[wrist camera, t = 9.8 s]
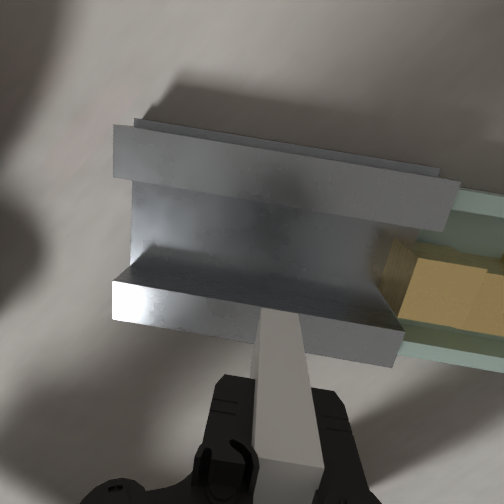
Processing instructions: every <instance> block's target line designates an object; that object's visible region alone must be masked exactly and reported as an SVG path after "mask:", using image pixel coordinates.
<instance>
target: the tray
mask: <svg viewBox="0 0 504 504" xmlns="http://www.w3.org/2000/svg"><path fill="white" fill-rule="evenodd" d="M416 241H418V242H424V243H430V244H436V245H442V246H448V247H452V248H454V249H456V250H457V251H459V252H463V253H469V254H475V255H481V256H487V257H493V258H499V259H501V258H502V255H503V254H504V194H498V193H492V192H486V191H480V190H474V189H468V188H462V187H459V190H458V192H457V195H456V198H455V201H454V203H453V206H452V209H451V211H450V214H449V217H448V219H447V222H446V225H445V227H444V230H443V232H437V231H431V230H425V229H420V230H419V233H418V236H417V238H416ZM392 312H393V310H392ZM393 314H394V315H395V313H394V312H393ZM395 317H396V318H397V316H396V315H395ZM397 320H398V321H399V323H400V324H401V326H402V327H403V329H404V330H405V335H404V337H403V340H402V343H401V345H400V348H399V351H398V353H397V355H403V356H408V357H414V358H420V359H426V360H431V361H437V362H443V363H448V364H454V365H460V366H466V367H471V368H477V369H483V370H488V371H494V372H500V373H504V337H503V336H497V335H491V334H485V333H480V332H474V331H468V330H462V329H456V328H453V327H450V326H444V325H438V324H432V323H426V322H420V321H414V320H409V319H403V318H397Z"/></svg>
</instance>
